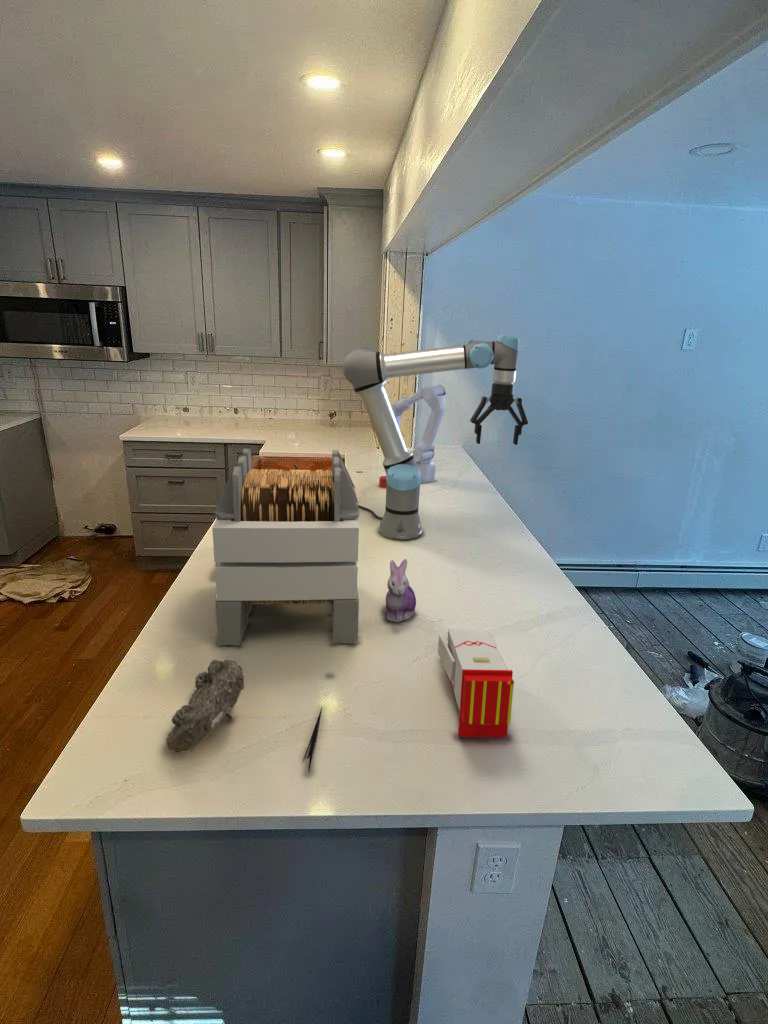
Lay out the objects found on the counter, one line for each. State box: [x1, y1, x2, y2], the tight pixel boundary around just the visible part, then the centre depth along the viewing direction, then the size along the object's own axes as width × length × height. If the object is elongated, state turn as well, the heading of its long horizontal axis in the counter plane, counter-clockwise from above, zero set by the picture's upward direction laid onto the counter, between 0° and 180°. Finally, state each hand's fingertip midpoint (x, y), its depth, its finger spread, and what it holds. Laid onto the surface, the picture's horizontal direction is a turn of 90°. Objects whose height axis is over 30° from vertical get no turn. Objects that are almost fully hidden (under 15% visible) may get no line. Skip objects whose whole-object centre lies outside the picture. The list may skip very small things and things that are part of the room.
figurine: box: [384, 558, 417, 623], centre depth 145 cm, size 9×10×15 cm
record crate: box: [212, 448, 360, 647], centre depth 140 cm, size 34×33×41 cm
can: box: [378, 475, 387, 489], centre depth 252 cm, size 5×5×4 cm
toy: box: [437, 628, 515, 738], centre depth 117 cm, size 12×13×30 cm
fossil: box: [166, 658, 245, 754], centre depth 106 cm, size 22×10×15 cm
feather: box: [301, 673, 332, 771], centre depth 108 cm, size 2×28×2 cm
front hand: (496, 443), depth 202 cm, fingers open, 13 cm apart
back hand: (392, 457), depth 274 cm, fingers open, 7 cm apart
